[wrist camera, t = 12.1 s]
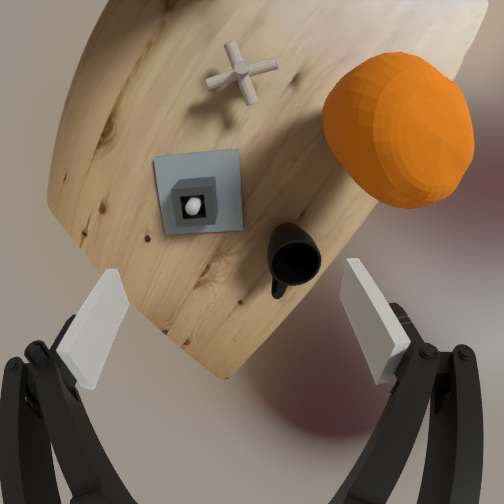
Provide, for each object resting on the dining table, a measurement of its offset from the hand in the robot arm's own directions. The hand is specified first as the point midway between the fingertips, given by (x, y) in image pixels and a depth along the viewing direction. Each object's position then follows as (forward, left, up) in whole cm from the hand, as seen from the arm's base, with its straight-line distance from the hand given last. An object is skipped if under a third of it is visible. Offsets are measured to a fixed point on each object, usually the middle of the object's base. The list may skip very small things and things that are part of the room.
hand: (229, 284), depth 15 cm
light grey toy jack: (-15, +1, -33) cm, 36 cm away
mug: (+15, +7, -33) cm, 37 cm away
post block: (+4, -7, -32) cm, 33 cm away
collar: (+4, -7, -31) cm, 32 cm away
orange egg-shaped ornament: (-8, +18, -33) cm, 38 cm away
